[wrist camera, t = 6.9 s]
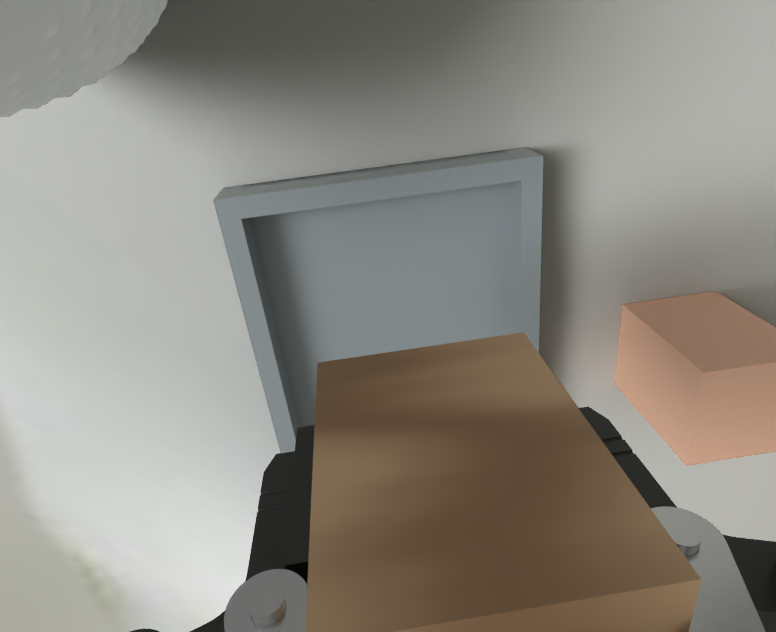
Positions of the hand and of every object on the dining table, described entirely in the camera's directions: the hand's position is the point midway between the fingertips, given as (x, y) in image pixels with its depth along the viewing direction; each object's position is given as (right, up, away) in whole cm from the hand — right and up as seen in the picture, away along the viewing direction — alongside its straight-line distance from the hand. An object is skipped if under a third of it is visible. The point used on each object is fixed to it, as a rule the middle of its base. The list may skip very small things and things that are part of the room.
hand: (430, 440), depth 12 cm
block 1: (0, 0, 0) cm, 0 cm away
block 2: (+13, +2, +14) cm, 19 cm away
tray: (-1, +2, +12) cm, 12 cm away
